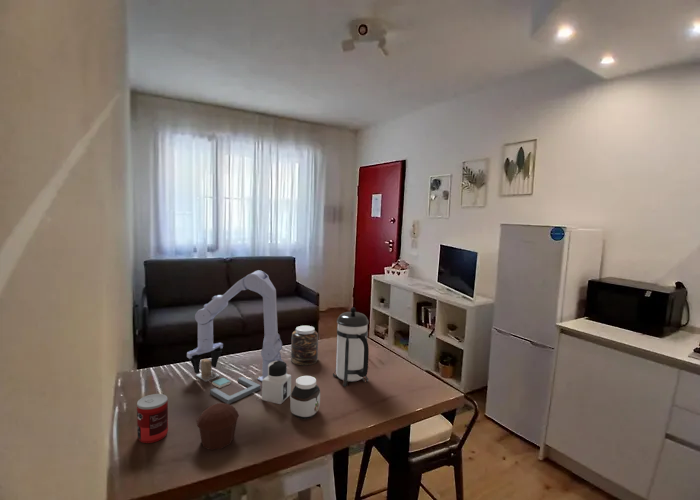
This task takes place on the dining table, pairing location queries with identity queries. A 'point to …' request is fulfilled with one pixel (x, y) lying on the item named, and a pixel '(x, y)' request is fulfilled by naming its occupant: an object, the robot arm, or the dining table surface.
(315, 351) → the jar
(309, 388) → the spread jar
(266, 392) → the container
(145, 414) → the canned food
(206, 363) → the trowel
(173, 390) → the dining table surface
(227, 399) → the tile frame
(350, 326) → the coffee press
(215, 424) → the muffin
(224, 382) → the tile
